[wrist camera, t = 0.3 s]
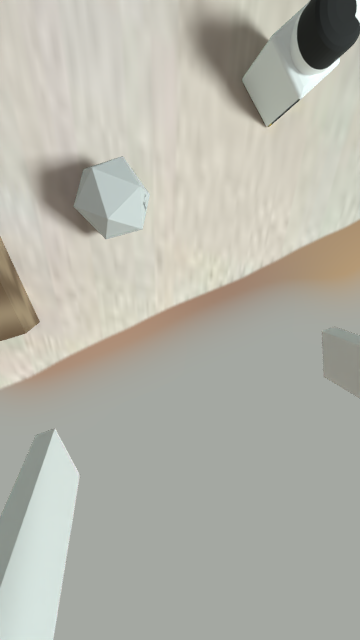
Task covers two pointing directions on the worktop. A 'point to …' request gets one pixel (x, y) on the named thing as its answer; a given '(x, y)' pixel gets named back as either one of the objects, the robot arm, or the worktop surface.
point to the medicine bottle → (301, 55)
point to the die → (112, 198)
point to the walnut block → (13, 301)
